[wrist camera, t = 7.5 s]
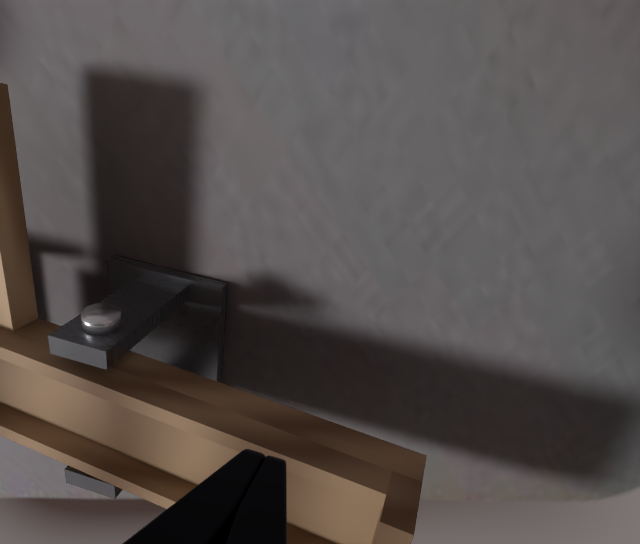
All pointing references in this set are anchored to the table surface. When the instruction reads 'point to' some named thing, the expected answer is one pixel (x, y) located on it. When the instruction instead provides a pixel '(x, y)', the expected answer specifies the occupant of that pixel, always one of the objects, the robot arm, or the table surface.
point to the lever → (181, 416)
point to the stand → (146, 329)
